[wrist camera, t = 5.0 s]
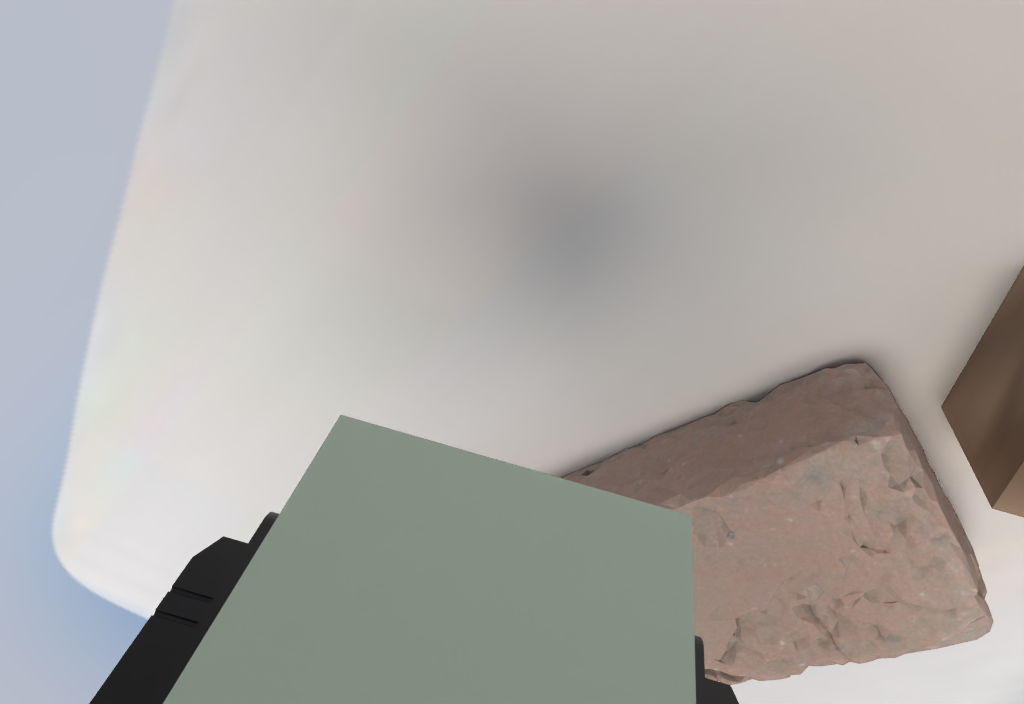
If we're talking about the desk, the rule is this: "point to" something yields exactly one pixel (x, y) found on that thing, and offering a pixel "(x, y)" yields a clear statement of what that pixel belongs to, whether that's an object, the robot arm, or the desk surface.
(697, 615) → the brick
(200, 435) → the desk surface
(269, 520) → the robot arm
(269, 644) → the green block
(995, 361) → the walnut block
